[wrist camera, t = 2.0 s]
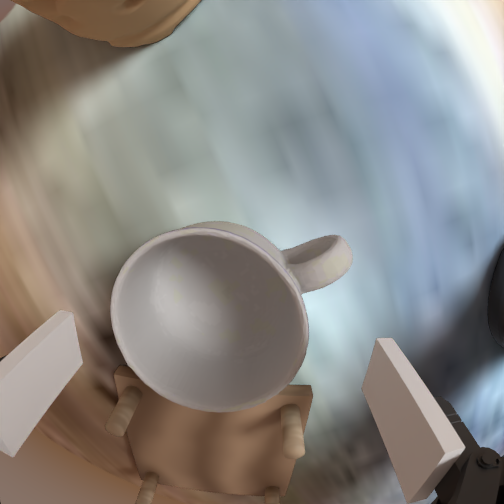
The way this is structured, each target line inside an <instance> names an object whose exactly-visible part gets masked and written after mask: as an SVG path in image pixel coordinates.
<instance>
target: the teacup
mask: <svg viewBox="0 0 504 504" xmlns="http://www.w3.org/2000/svg"><path fill="white" fill-rule="evenodd" d="M352 261H353V255H352V251H351V248H350V247H349V245H348V243H347V242H346V240H345V239H344V238H342V237H341V236H338V235H328V236H324V237H320V238H317V239H314V240H311V241H308V242H306V243H303V244H301V245H298V246H296V247H293V248H290V249H286V250H283V251H279V249H278V248H277V247H276V246H275V245H273V244H272V243H271V242H270V241H269V240H268V239H267V238H265V237H264V236H262V235H261V234H259V233H258V232H256V231H254V230H252V229H250V228H247V227H245V226H242V225H239V224H235V223H230V222H222V221H211V222H202V223H197V224H193V225H189V226H186V227H183V228H181V229H178V230H173V231H170V232H166V233H164V234H162V235H159V236H157V237H155V238H153V239H151V240H149V241H147V242H146V243H144V244H143V245H142V246H141V247H139V248H138V249H137V250H136V251H135V252H134V253H133V254H132V255H131V256H130V257H129V259H128V260H127V261H126V262H125V264H124V265H123V266H122V268H121V270H120V272H119V274H118V276H117V278H116V280H115V283H114V287H113V290H112V296H111V304H110V314H111V322H112V328H113V332H114V335H115V338H116V342H117V345H118V347H119V349H120V351H121V353H122V355H123V357H124V359H125V361H126V362H127V364H128V366H129V367H130V368H132V370H133V371H134V372H135V374H136V375H137V376H138V377H139V378H140V379H141V380H142V381H143V382H144V383H145V384H146V385H147V386H149V387H150V388H152V389H153V390H154V391H155V392H157V393H158V394H159V395H161V396H163V397H165V398H166V399H168V400H170V401H172V402H174V403H177V404H179V405H182V406H185V407H188V408H191V409H196V410H201V411H206V412H235V411H240V410H245V409H249V408H252V407H255V406H257V405H259V404H262V403H265V402H266V401H267V400H268V399H271V398H272V397H273V396H275V395H277V394H278V393H279V392H280V391H282V390H283V389H284V388H285V387H286V386H287V385H288V384H289V383H290V382H291V381H292V380H293V378H294V377H295V375H296V374H297V372H298V370H299V369H300V367H301V365H302V363H303V361H304V358H305V355H306V350H307V346H308V341H309V325H308V317H307V313H306V309H305V305H304V301H303V298H302V296H301V295H302V294H303V293H306V292H310V291H314V290H317V289H320V288H323V287H325V286H327V285H329V284H331V283H333V282H335V281H336V280H338V279H339V278H341V277H342V276H343V275H344V274H345V273H346V272H347V271H348V270H349V268H350V266H351V265H352Z"/></svg>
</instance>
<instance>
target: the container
mask: <svg viewBox="0 0 504 504" xmlns="http://www.w3.org/2000/svg"><path fill="white" fill-rule="evenodd" d="M11 1H13V2H15V3H17V4H19V5H21V6H23V7H25V8H26V9H28V10H29V11H31V12H33V13H35V14H37V15H40V16H42V17H44V18H46V19H48V20H50V21H53V22H55V23H57V24H58V25H60V26H61V27H63V28H64V29H65V30H67V31H69V32H70V33H72V34H74V35H76V36H79V37H84V38H89V39H95V40H102V41H108V42H109V43H110V44H111V46H116V47H138V46H141V45H144V44H150V43H155V42H157V41H160V40H162V39H163V38H165V37H167V36H169V35H170V34H172V33H173V30H174V28H175V27H176V26H177V25H178V24H179V23H180V22H181V21H182V20H183V19H184V18H185V17H186V16H187V15H188V14H189V13H190V12H191V11H192V10H193V9H194V8H195V7H196V6H197V5H198V3H199V2H200V1H201V0H11Z"/></svg>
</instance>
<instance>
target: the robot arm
mask: <svg viewBox="0 0 504 504" xmlns="http://www.w3.org/2000/svg"><path fill="white" fill-rule="evenodd" d="M488 322H489V327H490V331H491V334H492V336H493V338H494V339H495V340H496V342H497V343H498V344H500V345H501V346H502V347H503V348H504V249H503V251H502V254H501V256H500V258H499V261H498V263H497V266H496V269H495V272H494V276H493V279H492V284H491V288H490V294H489V301H488ZM82 364H83V361H82V357H81V352H80V347H79V343H78V337H77V332H76V327H75V321H74V315H73V312H68V311H63V310H59V311H58V312H57V313H55V314H54V315H53V316H52V317H51V318H49V319H48V320H47V321H46V322H45V323H44V324H42V325H41V326H40V327H39V328H38V329H36V330H35V331H34V332H33V333H32V334H31V335H30V336H28V337H27V338H26V339H25V340H24V341H23V342H22V343H20V344H19V345H18V346H17V347H16V348H15V349H14V350H13V351H11V352H10V353H9V354H8V355H7V356H4V357H2V358H0V451H2V452H4V453H6V454H8V455H9V456H11V457H14V456H15V454H16V453H17V451H18V450H19V449H20V447H21V446H22V444H23V443H24V441H25V440H26V439H27V437H28V436H29V434H30V433H31V432H32V430H33V429H34V427H35V426H36V425H37V423H38V422H39V420H40V419H41V418H42V416H43V415H44V414H45V412H46V411H47V410H48V408H49V407H50V405H51V404H52V403H53V401H54V400H55V399H56V397H57V396H58V395H59V393H60V392H61V391H62V390H63V388H64V387H65V386H66V384H67V383H68V382H69V380H70V379H71V378H72V377H73V375H74V374H75V373H76V371H77V370H78V369H79V368H80V366H81V365H82ZM361 389H362V391H363V393H364V396H365V398H366V401H367V403H368V405H369V408H370V410H371V412H372V415H373V417H374V420H375V422H376V425H377V427H378V429H379V432H380V434H381V437H382V439H383V442H384V444H385V447H386V449H387V452H388V454H389V457H390V459H391V462H392V465H393V467H394V470H395V472H396V475H397V478H398V480H399V483H400V485H401V488H402V491H403V493H404V496H405V499H406V502H407V504H408V503H412V502H416V501H420V500H424V499H427V498H428V496H429V495H430V494H431V493H432V492H433V490H434V489H435V491H436V493H437V495H438V496H437V497H436V499H435V500H434V501H433V502H432V503H431V504H504V455H503V456H502V457H500V455H499V454H498V453H497V452H496V451H494V450H492V449H490V448H485V447H481V448H480V447H479V445H478V444H477V442H476V441H475V439H474V438H473V436H472V435H471V433H470V432H469V430H468V429H467V427H466V426H465V424H464V423H463V422H461V418H460V417H459V415H458V414H456V411H455V410H454V408H453V407H452V405H451V404H450V403H449V402H448V401H446V400H445V399H444V398H442V397H441V396H438V397H433V396H432V394H431V393H430V391H429V390H428V388H427V387H426V385H425V384H424V382H423V381H422V380H421V378H420V377H419V375H418V374H417V372H416V371H415V369H414V368H413V366H412V365H411V364H410V362H409V361H408V359H407V358H406V357H405V355H404V354H403V352H402V351H401V349H400V348H399V347H398V345H397V344H396V342H395V341H394V340H393V338H376V342H375V345H374V349H373V353H372V356H371V359H370V363H369V366H368V369H367V373H366V376H365V379H364V382H363V385H362V388H361ZM0 504H1V503H0Z"/></svg>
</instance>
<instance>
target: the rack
mask: <svg viewBox="0 0 504 504" xmlns="http://www.w3.org/2000/svg"><path fill="white" fill-rule="evenodd" d="M114 379H115V384H116V389H117V393H118V398H119V401H118V403H117V404H116V406H115V408H114V410H113V412H112V413H111V415H110V417H109V419H108V421H107V422H106V424H105V429H106V430H107V431H108V432H109V433H110V434H111V435H113V436H116V437H122V436H123V435H124V433H125V431H127V435H128V438H129V442H130V446H131V449H132V453H133V456H134V459H135V463H136V466H137V469H138V472H139V475H140V478H141V480H143V483H142V486H141V489H140V492H139V495H138V498H137V500H136V503H135V504H151V503H152V499H153V496H154V493H155V490H156V486H157V483H159V484H163V485H169V486H174V487H180V488H186V489H192V490H199V491H207V492H215V493H225V494H236V495H251V496H265V504H280V497H279V496H285V495H286V492H287V489H288V485H289V482H290V479H291V476H292V472H293V469H294V466H295V462H296V459H298V458H300V457H302V456H303V455H304V454H305V447H304V439H303V434H304V430H305V426H306V423H307V419H308V415H309V411H310V407H311V403H312V399H313V393H312V388H311V385H287V386H286V387H285V388H284V389H283V390H282V391H280V392H279V393H278V394H277V395H275V396H273V397H272V398H271V399H268V400H267V401H266V402H265V403H262V404H259V405H257V406H255V407H252V408H249V409H245V410H240V411H235V412H206V411H201V410H196V409H191V408H188V407H185V406H182V405H179V404H177V403H174V402H172V401H170V400H168V399H166V398H165V397H163V396H161V395H159V394H158V393H157V392H155V391H154V390H153V389H152V388H150V387H149V386H147V385H146V384H145V383H144V382H143V381H142V380H141V379H140V378H139V377H138V376H137V375H136V374H135V372H134V371H133V370H132V368H130V367H127V366H122V365H119V367H118V368H117V370H116V371H115V373H114Z"/></svg>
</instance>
